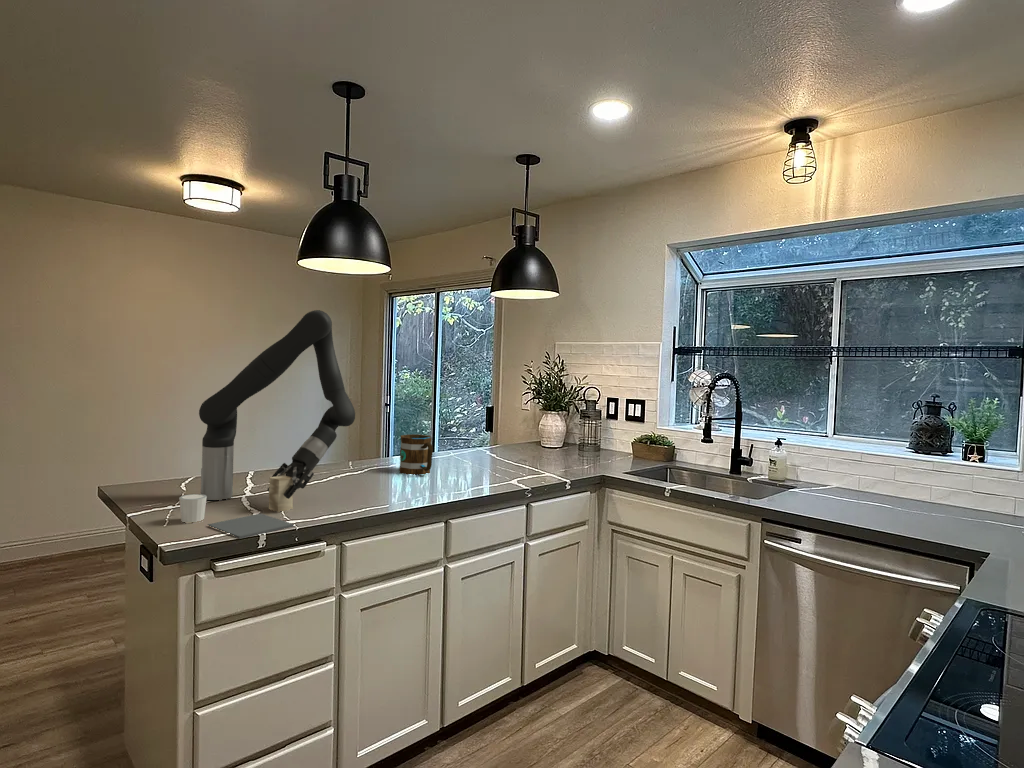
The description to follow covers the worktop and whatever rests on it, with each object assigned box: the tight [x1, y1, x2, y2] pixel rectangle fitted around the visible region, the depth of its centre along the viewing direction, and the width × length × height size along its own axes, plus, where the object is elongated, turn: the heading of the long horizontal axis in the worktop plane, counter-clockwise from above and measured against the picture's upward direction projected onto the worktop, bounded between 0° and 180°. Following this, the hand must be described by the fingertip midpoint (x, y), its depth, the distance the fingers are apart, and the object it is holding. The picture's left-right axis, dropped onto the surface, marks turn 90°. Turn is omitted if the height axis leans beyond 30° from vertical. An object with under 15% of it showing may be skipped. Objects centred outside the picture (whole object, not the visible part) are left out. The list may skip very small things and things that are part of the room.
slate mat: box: [207, 513, 294, 540], centre depth 168 cm, size 16×16×1 cm
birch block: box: [268, 474, 294, 513], centre depth 186 cm, size 5×5×10 cm
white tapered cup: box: [178, 493, 207, 523], centre depth 170 cm, size 7×7×7 cm
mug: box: [398, 433, 434, 476], centre depth 251 cm, size 20×14×15 cm
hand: (277, 494), depth 185 cm, fingers open, 8 cm apart
